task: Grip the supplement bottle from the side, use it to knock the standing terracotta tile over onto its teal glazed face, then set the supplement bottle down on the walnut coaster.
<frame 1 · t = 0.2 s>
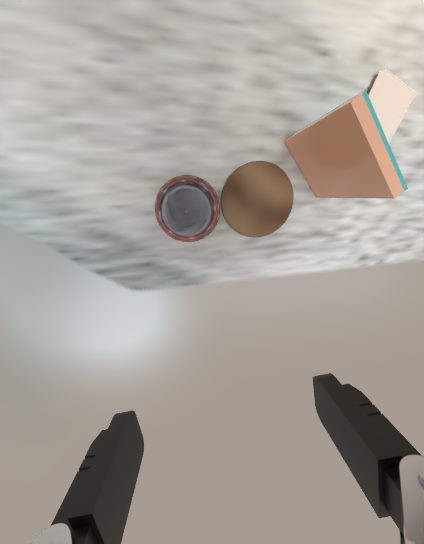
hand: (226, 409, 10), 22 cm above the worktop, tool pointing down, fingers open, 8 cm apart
tile: (304, 167, 28), on the worktop
coaster: (256, 201, 29), on the worktop
supplement bottle: (189, 206, 29), on the worktop
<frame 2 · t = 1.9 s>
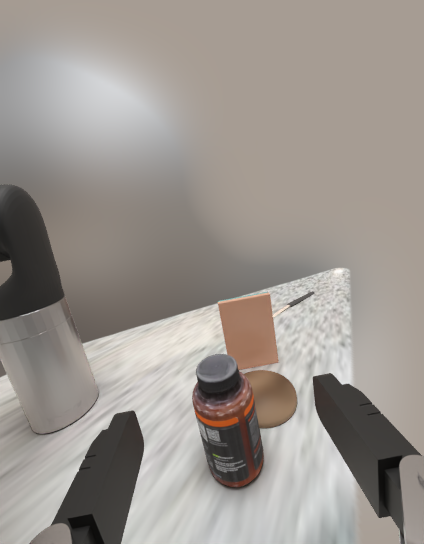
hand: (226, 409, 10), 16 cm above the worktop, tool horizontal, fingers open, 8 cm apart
tile: (253, 364, 38), on the worktop
coaster: (261, 397, 31), on the worktop
supplement bottle: (236, 459, 24), on the worktop
spatula: (279, 315, 54), on the worktop
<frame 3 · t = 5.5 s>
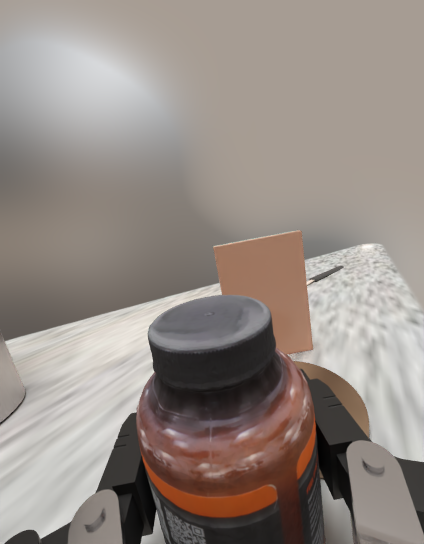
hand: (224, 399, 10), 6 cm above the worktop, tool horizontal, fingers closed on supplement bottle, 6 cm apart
tile: (272, 353, 23), on the worktop
coaster: (293, 409, 16), on the worktop
spatula: (301, 292, 40), on the worktop
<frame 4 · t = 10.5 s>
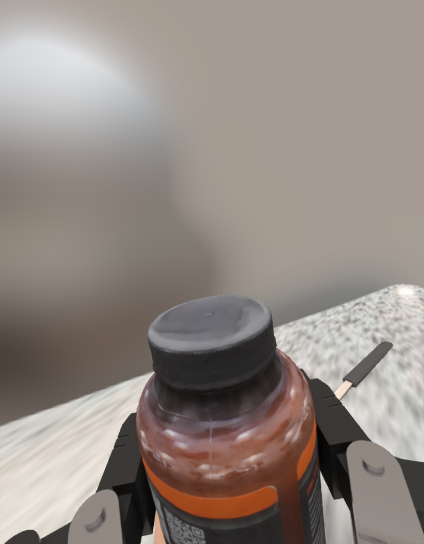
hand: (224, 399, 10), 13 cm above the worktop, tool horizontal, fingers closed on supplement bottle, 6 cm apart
spatula: (331, 410, 24), on the worktop, touching tile
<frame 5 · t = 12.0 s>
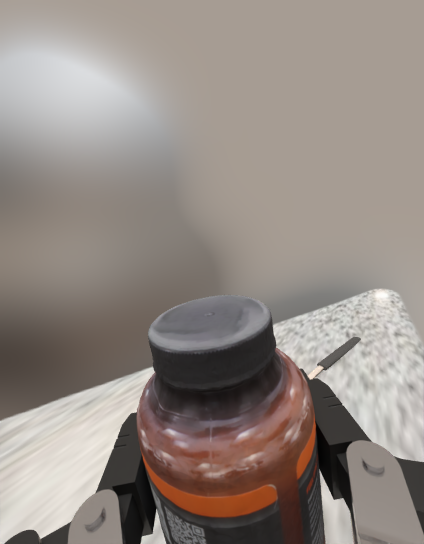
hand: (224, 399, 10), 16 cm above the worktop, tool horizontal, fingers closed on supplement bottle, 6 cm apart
spatula: (306, 386, 32), on the worktop
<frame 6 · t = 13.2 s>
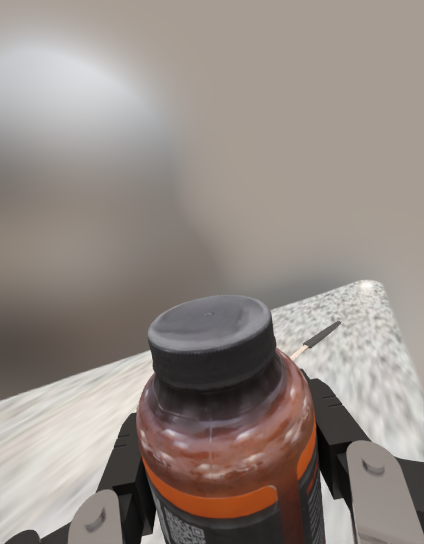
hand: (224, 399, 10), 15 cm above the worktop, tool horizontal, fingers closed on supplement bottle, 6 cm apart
spatula: (292, 362, 36), on the worktop, touching tile
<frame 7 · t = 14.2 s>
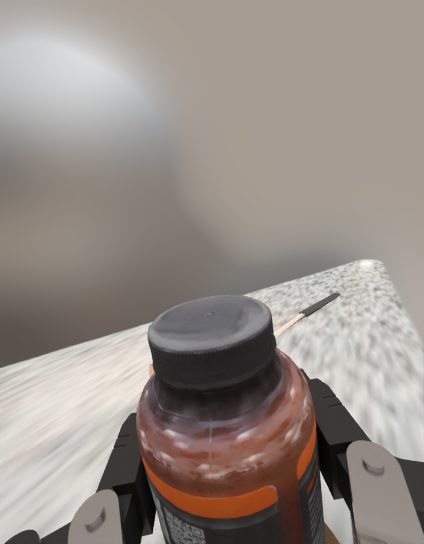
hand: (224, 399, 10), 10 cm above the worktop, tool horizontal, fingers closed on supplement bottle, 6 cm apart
spatula: (288, 330, 34), on the worktop, touching tile
when the fingers open (8 cm above the worktop, at t = 15.2 s): supplement bottle drops 1 cm, resting on coaster.
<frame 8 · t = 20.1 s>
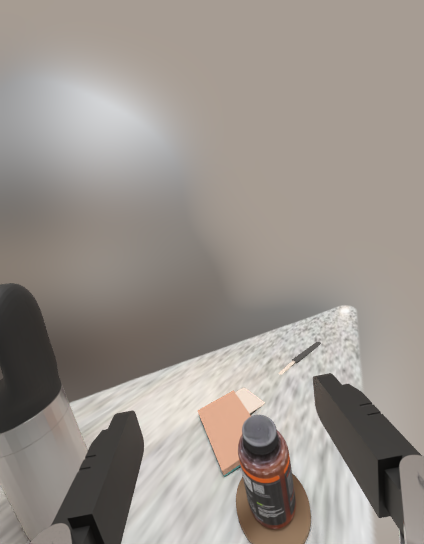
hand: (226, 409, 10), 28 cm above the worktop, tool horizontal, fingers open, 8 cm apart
tile: (246, 458, 34), point 1 cm above the worktop, tilted 89°
coaster: (272, 505, 29), on the worktop
supplement bottle: (271, 501, 28), point 1 cm above the worktop, touching coaster
spatula: (284, 373, 52), on the worktop
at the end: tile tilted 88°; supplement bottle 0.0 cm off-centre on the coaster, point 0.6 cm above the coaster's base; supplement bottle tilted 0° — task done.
